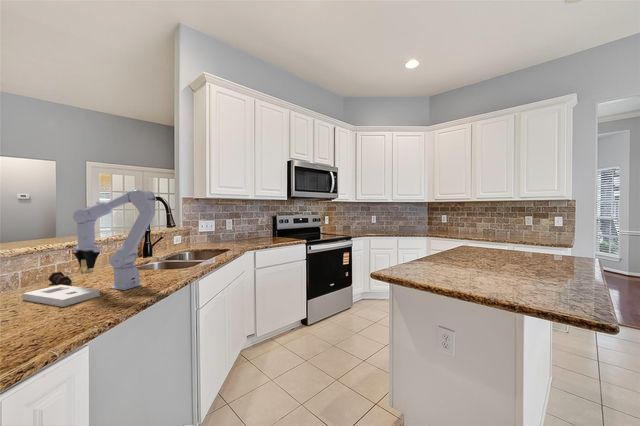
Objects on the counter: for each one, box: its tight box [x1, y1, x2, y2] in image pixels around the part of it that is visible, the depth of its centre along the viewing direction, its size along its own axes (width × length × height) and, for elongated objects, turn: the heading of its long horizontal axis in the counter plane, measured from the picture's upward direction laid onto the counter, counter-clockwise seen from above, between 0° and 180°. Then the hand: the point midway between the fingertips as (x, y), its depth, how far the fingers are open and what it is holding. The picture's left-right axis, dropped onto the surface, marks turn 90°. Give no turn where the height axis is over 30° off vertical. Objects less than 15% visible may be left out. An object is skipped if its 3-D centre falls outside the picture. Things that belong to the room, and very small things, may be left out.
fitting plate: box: [22, 284, 101, 307], centre depth 106 cm, size 24×12×3 cm, turn 71°
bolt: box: [48, 271, 73, 286], centre depth 124 cm, size 6×5×15 cm
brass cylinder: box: [80, 259, 94, 275], centre depth 118 cm, size 4×4×6 cm
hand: (87, 267), depth 118 cm, fingers closed on brass cylinder, 4 cm apart
